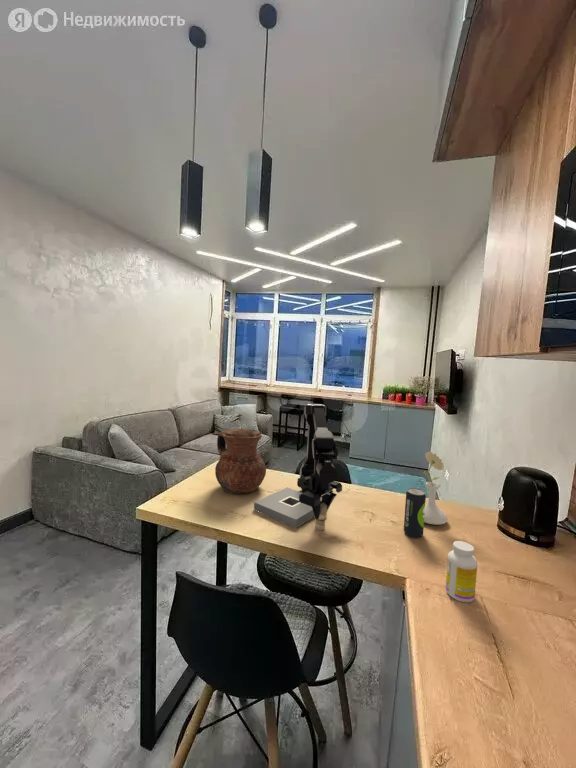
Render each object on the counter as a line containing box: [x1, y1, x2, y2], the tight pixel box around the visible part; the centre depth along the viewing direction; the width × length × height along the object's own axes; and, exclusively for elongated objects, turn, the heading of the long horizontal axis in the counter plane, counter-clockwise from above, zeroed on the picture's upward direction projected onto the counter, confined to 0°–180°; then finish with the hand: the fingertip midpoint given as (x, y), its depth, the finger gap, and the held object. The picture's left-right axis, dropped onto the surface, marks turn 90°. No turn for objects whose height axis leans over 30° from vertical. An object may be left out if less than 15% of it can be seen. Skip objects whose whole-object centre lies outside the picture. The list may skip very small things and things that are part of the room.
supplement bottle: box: [445, 540, 478, 603], centre depth 85 cm, size 7×7×13 cm
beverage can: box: [403, 487, 427, 539], centre depth 114 cm, size 6×6×15 cm
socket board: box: [253, 487, 322, 529], centre depth 130 cm, size 20×20×3 cm
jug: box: [214, 428, 267, 494], centre depth 148 cm, size 22×21×25 cm
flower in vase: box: [422, 451, 448, 526], centre depth 125 cm, size 13×11×25 cm
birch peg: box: [313, 503, 328, 531], centre depth 117 cm, size 4×4×8 cm
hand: (320, 516), depth 117 cm, fingers closed on birch peg, 4 cm apart
